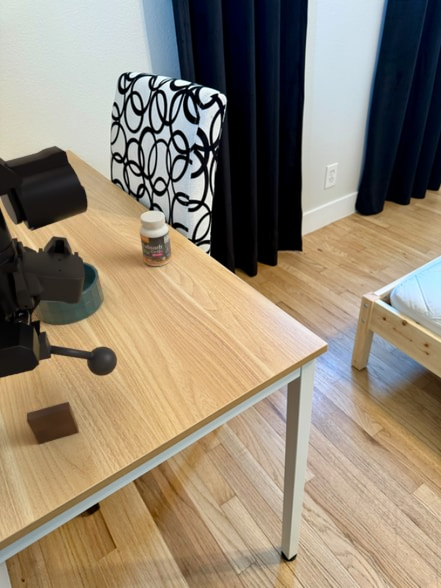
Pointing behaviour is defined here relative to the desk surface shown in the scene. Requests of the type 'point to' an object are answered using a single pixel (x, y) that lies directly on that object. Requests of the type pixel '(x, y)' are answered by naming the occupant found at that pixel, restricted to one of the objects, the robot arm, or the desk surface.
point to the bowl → (75, 312)
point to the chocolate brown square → (52, 422)
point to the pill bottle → (155, 238)
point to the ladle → (81, 355)
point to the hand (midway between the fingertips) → (30, 361)
